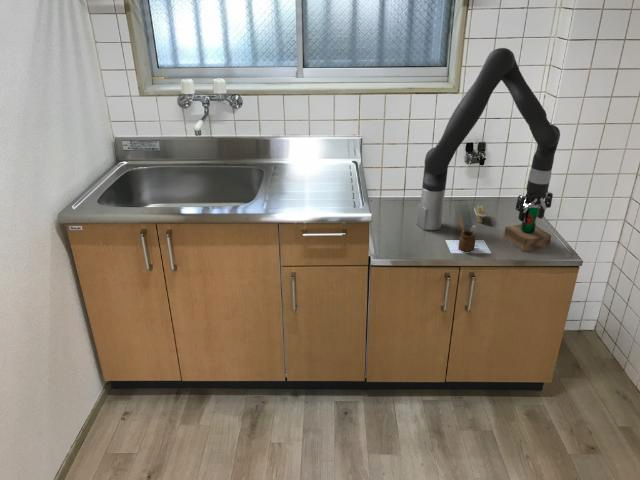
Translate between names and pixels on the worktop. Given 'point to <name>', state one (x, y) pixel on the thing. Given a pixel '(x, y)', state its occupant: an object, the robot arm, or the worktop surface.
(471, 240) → the utensil holder
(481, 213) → the grey flat gold-topped slab
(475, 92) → the robot arm
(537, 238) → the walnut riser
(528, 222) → the soda can
